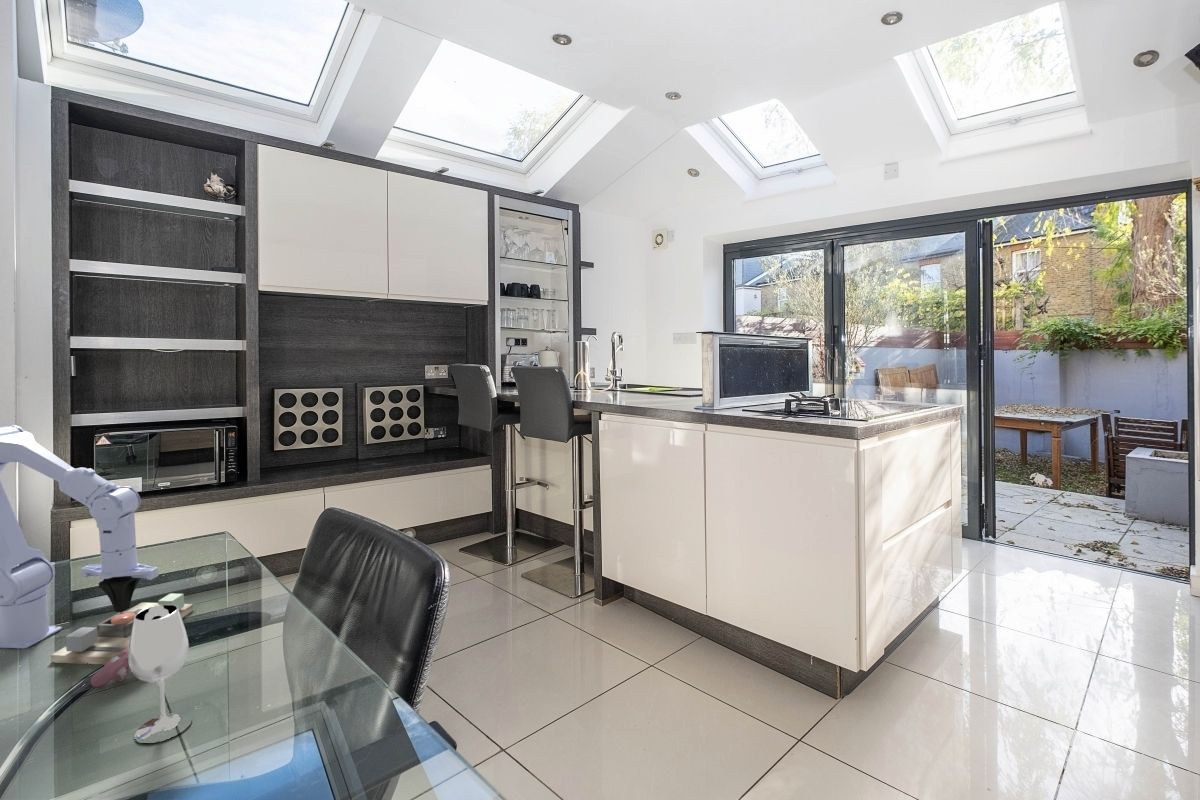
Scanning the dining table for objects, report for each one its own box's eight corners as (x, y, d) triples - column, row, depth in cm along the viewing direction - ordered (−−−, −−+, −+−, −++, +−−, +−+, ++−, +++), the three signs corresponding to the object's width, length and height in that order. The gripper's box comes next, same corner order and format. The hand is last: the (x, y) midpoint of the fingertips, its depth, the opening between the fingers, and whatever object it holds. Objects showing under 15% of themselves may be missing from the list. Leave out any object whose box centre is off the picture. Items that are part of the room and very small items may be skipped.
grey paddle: (66, 651, 113) (65, 636, 112) (83, 641, 116) (82, 627, 116) (81, 651, 113) (80, 637, 112) (98, 641, 116) (97, 627, 116)
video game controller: (105, 699, 104) (117, 668, 103) (85, 685, 105) (97, 654, 104) (156, 668, 114) (168, 640, 113) (138, 655, 114) (149, 627, 113)
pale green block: (158, 613, 128) (158, 600, 128) (171, 606, 131) (170, 593, 131) (172, 614, 128) (171, 601, 128) (184, 606, 131) (183, 593, 131)
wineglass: (154, 713, 98) (147, 601, 96) (203, 712, 99) (197, 600, 97) (120, 746, 91) (112, 624, 88) (174, 744, 91) (166, 624, 89)
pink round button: (106, 633, 120) (105, 621, 120) (122, 623, 124) (121, 612, 124) (125, 633, 120) (125, 622, 120) (141, 624, 124) (140, 612, 123)
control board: (51, 662, 112) (49, 642, 112) (142, 608, 134) (140, 592, 134) (112, 664, 112) (111, 645, 112) (193, 610, 134) (192, 593, 133)
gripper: (65, 553, 116) (70, 617, 117) (137, 556, 116) (141, 620, 117) (96, 540, 123) (100, 601, 124) (164, 543, 123) (167, 604, 124)
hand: (122, 610), depth 121 cm, fingers closed
